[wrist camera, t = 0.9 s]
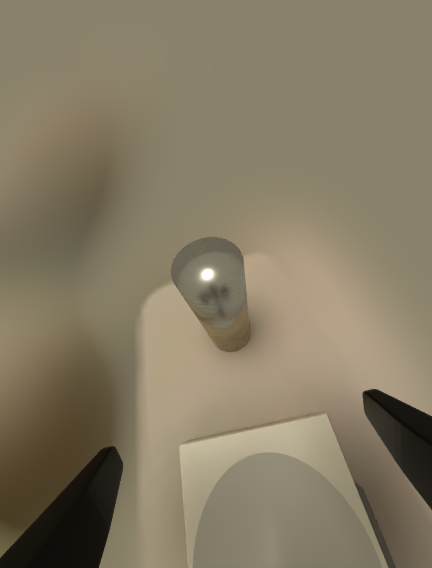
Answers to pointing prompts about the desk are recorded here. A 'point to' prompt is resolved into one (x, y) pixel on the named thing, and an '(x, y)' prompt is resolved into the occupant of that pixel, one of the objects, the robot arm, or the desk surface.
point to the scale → (276, 500)
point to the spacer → (215, 289)
